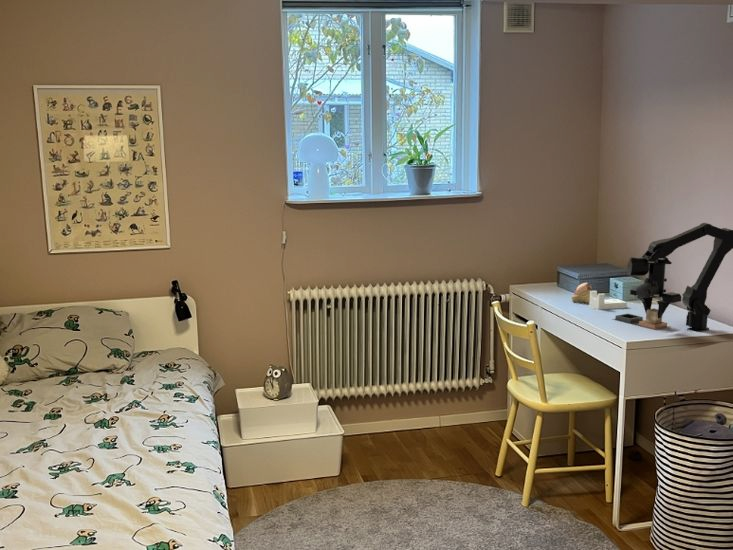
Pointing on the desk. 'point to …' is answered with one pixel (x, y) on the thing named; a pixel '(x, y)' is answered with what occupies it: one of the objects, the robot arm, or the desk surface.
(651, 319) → the wooden block
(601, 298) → the bracket
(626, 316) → the base plate
